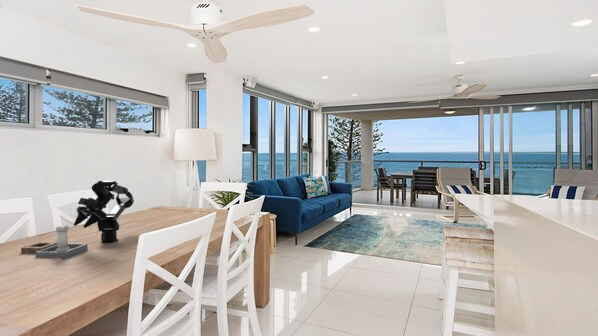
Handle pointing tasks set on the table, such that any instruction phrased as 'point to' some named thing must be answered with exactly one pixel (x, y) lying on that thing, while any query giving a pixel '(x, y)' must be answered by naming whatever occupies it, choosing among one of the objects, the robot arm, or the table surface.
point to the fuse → (62, 239)
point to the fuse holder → (37, 247)
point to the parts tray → (53, 252)
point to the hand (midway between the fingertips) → (79, 226)
